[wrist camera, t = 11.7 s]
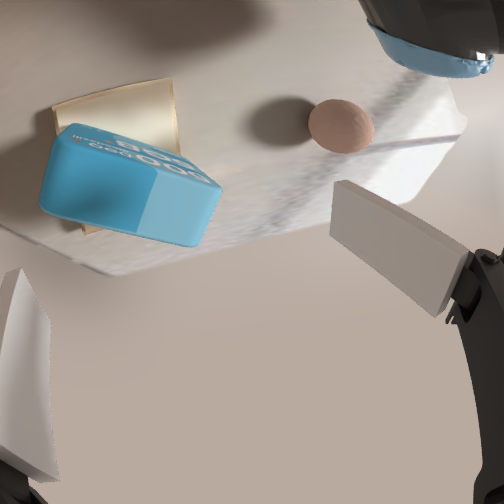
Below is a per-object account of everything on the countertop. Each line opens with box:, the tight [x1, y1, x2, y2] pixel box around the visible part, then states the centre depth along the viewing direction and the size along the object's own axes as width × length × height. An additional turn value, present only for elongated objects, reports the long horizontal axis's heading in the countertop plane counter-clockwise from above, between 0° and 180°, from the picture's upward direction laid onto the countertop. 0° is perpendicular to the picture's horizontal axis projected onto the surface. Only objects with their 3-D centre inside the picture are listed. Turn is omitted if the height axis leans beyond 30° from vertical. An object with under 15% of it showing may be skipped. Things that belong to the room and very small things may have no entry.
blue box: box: [39, 123, 223, 247], centre depth 21 cm, size 12×4×12 cm, turn 61°
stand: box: [52, 77, 181, 235], centre depth 27 cm, size 14×12×3 cm
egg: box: [308, 99, 375, 154], centre depth 33 cm, size 7×7×10 cm
